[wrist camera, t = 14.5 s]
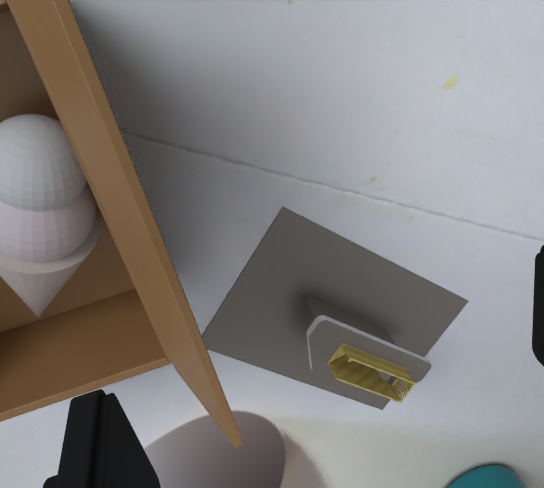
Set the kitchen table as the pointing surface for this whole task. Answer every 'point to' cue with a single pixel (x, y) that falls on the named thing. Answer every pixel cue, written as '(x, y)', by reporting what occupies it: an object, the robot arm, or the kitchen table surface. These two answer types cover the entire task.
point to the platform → (331, 314)
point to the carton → (79, 288)
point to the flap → (122, 194)
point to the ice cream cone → (42, 209)
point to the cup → (489, 478)
